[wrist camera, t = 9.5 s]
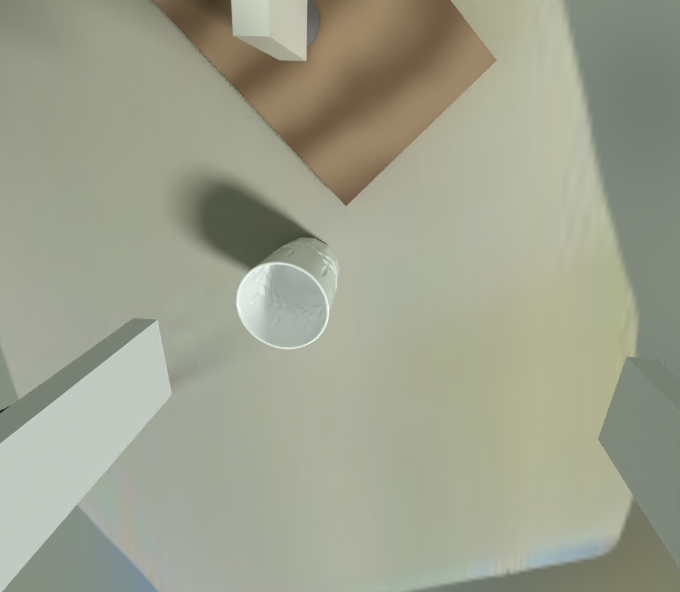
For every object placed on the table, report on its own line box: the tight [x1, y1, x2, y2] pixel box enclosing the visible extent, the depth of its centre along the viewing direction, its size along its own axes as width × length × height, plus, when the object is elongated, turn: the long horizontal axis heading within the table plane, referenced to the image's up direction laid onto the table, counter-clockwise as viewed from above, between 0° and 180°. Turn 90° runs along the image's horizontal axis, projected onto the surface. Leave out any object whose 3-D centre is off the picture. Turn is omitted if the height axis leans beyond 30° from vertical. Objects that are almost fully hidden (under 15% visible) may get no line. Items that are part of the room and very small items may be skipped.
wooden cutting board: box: [154, 0, 496, 205], centre depth 31 cm, size 26×16×3 cm, turn 44°
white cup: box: [236, 237, 340, 349], centre depth 37 cm, size 8×8×10 cm
